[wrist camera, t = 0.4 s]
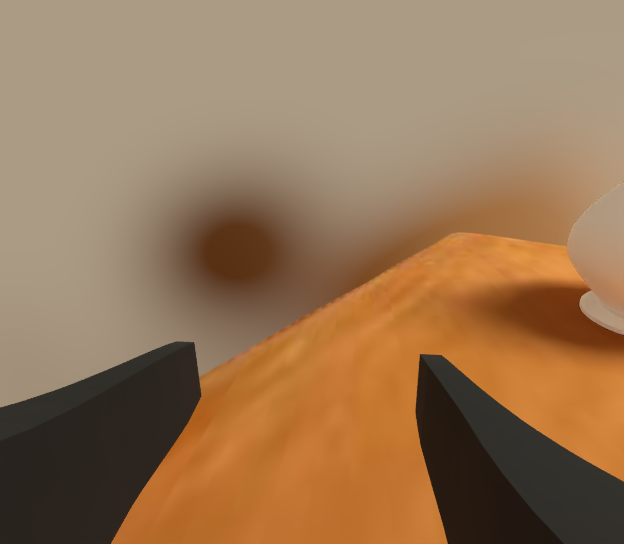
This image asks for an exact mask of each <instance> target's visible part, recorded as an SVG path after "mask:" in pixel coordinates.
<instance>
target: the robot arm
mask: <svg viewBox="0 0 624 544" xmlns="http://www.w3.org/2000/svg"><path fill="white" fill-rule="evenodd" d="M200 398H201V389H200V382H199V375H198V367H197V359H196V352H195V345H194V342H174V343H170V344H168V345H165V346H162V347H160V348H157V349H155V350H152V351H150V352H148V353H145V354H143V355H141V356H139V357H136V358H134V359H132V360H129V361H127V362H125V363H122V364H120V365H118V366H115V367H113V368H111V369H108V370H106V371H103V372H101V373H99V374H96V375H93V376H91V377H89V378H86V379H84V380H81V381H79V382H76V383H74V384H71V385H68V386H66V387H63V388H60V389H58V390H55V391H52V392H49V393H46V394H43V395H40V396H37V397H34V398H31V399H28V400H25V401H22V402H19V403H15V404H11V405H8V406H4V407H1V408H0V544H111V542H112V540H113V539H114V537H115V535H116V533H117V531H118V530H119V528H120V526H121V524H122V523H123V521H124V519H125V517H126V516H127V514H128V512H129V510H130V508H131V507H132V505H133V504H134V502H135V500H136V499H137V497H138V496H139V494H140V493H141V491H142V490H143V488H144V487H145V485H146V484H147V482H148V481H149V479H150V478H151V476H152V475H153V474H154V472H155V471H156V469H157V468H158V466H159V465H160V463H161V462H162V460H163V459H164V458H165V456H166V455H167V453H168V452H169V450H170V449H171V447H172V446H173V444H174V443H175V442H176V440H177V439H178V437H179V436H180V434H181V433H182V431H183V430H184V428H185V427H186V425H187V423H188V422H189V420H190V418H191V416H192V414H193V412H194V410H195V408H196V406H197V404H198V402H199V400H200ZM416 419H417V426H418V432H419V438H420V444H421V448H422V452H423V455H424V459H425V463H426V466H427V470H428V473H429V477H430V480H431V484H432V487H433V491H434V494H435V498H436V501H437V505H438V508H439V512H440V516H441V519H442V523H443V526H444V530H445V534H446V538H447V542H448V544H624V482H623V481H621V480H620V479H618V478H616V477H614V476H612V475H610V474H609V473H607V472H605V471H603V470H601V469H600V468H598V467H596V466H594V465H592V464H591V463H589V462H587V461H585V460H584V459H582V458H580V457H579V456H577V455H575V454H573V453H572V452H570V451H568V450H567V449H565V448H564V447H562V446H560V445H559V444H557V443H556V442H554V441H553V440H551V439H550V438H548V437H546V436H545V435H543V434H542V433H540V432H539V431H537V430H536V429H534V428H533V427H531V426H530V425H528V424H527V423H525V422H524V421H522V420H521V419H520V418H518V417H517V416H516V415H514V414H513V413H512V412H510V411H509V410H507V409H506V408H505V407H503V406H502V405H501V404H499V403H498V402H497V401H496V400H494V399H493V398H492V397H491V396H489V395H488V394H487V393H486V392H484V391H483V390H482V389H481V388H479V387H478V386H477V385H476V384H475V383H473V382H472V381H471V380H470V379H469V378H468V377H466V376H465V375H464V374H463V373H462V372H461V371H460V370H458V369H457V368H456V367H455V366H454V365H453V364H451V363H450V362H449V361H448V360H447V359H446V358H444V357H443V356H442V355H426V354H420V361H419V374H418V386H417V399H416Z"/></svg>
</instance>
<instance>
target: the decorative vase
mask: <svg viewBox="0 0 624 544" xmlns="http://www.w3.org/2000/svg"><path fill="white" fill-rule="evenodd" d="M567 250H568V255H569V258H570V260H571V262H572V264H573V266H574V267H575V269H576V270H577V272H578V273H579V275H580V276H581V277H582V279H583V280H584V281H585V282H586V284H587V285H588V286H589V287H590V289H591V290H592V291H589V292H587V293H585V294H584V295H582V297H581V299H580V302H579V306H580V309H581V311H582V312H583V313H584V314H585V315H586V316H587V317H588V318H589V319H591V320H592V321H593V322H595V323H597V324H598V325H600V326H602V327H604V328H606V329H608V330H611V331H613V332H616V333H618V334H621V335H624V182H622V183H620V184H619V185H617V186H616V187H614V188H613V189H611V190H610V191H608V192H607V193H606V194H604V195H603V196H602V197H601V198H599V199H598V200H597V201H596V202H595V203H593V204H592V205H591V206H590V207H589V208H588V209H587V210H586V211H585V212H584V213H583V214H582V215H581V216H580V217H579V218H578V220H577V221H576V222H575V224H574V226H573V227H572V230H571V232H570V235H569V238H568V244H567Z"/></svg>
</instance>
